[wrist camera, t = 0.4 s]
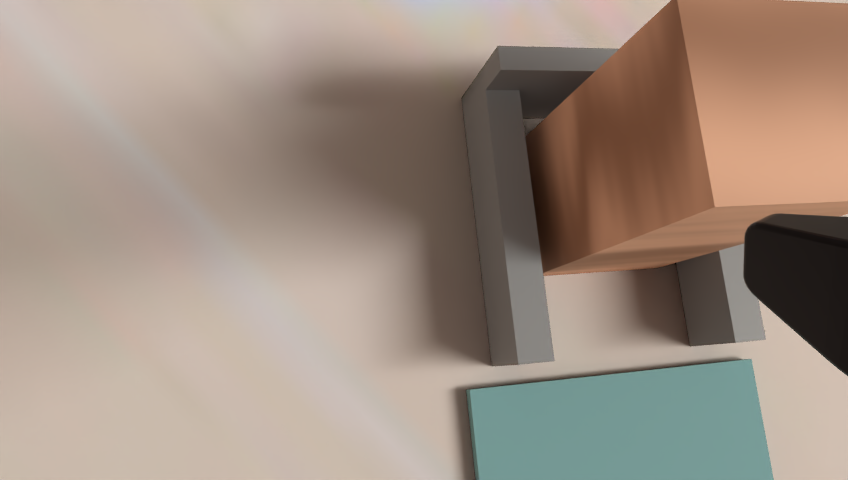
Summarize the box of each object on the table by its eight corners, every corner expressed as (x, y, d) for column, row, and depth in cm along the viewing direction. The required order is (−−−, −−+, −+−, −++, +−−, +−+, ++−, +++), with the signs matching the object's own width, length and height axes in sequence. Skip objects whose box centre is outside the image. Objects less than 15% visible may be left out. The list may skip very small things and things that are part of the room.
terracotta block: (657, 268, 25) (899, 198, 15) (534, 276, 24) (714, 207, 14) (637, 142, 26) (853, 3, 16) (517, 143, 25) (676, -5, 15)
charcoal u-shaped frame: (717, 343, 25) (799, 336, 21) (491, 366, 23) (537, 363, 19) (674, 98, 27) (742, 51, 23) (461, 97, 24) (497, 46, 21)
